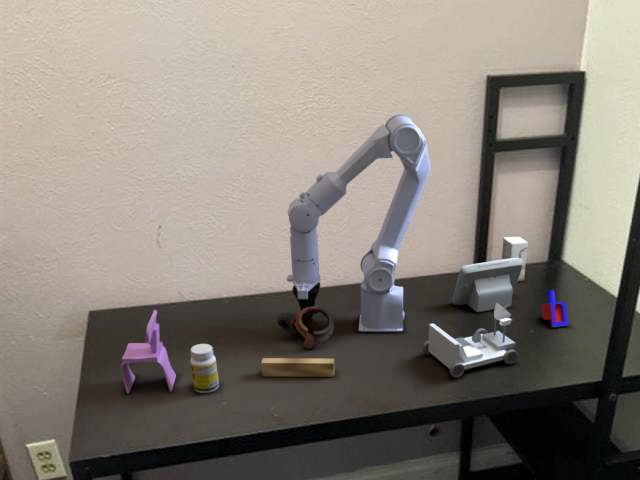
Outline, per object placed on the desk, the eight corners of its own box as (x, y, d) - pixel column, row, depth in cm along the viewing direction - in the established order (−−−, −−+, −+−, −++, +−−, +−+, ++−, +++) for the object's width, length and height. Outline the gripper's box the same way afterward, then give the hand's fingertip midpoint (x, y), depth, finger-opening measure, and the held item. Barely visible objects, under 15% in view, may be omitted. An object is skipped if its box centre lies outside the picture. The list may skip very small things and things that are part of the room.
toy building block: (559, 326, 174) (555, 290, 173) (568, 325, 170) (564, 288, 169) (544, 328, 173) (540, 292, 173) (553, 327, 169) (549, 290, 169)
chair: (131, 374, 153) (118, 304, 145) (177, 372, 153) (166, 302, 146) (123, 396, 146) (109, 323, 138) (170, 394, 146) (159, 321, 139)
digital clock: (513, 293, 186) (517, 251, 181) (526, 309, 178) (530, 265, 173) (447, 298, 184) (449, 255, 178) (457, 314, 176) (459, 270, 171)
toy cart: (499, 294, 161) (532, 315, 152) (495, 337, 166) (528, 360, 157) (423, 310, 154) (453, 334, 145) (421, 354, 159) (451, 379, 150)
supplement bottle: (195, 381, 150) (190, 343, 146) (220, 380, 151) (215, 341, 146) (192, 394, 146) (187, 354, 142) (218, 393, 147) (213, 353, 142)
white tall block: (524, 281, 192) (528, 242, 187) (508, 283, 191) (511, 244, 186) (515, 273, 197) (519, 235, 192) (499, 275, 196) (502, 237, 191)
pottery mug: (330, 328, 171) (338, 306, 164) (325, 364, 166) (333, 342, 159) (277, 317, 169) (282, 293, 162) (270, 352, 164) (275, 329, 157)
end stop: (334, 371, 153) (334, 358, 152) (334, 376, 152) (333, 363, 150) (263, 371, 154) (262, 358, 152) (262, 376, 152) (261, 362, 151)
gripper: (290, 245, 168) (293, 302, 175) (281, 270, 156) (285, 331, 163) (322, 245, 168) (324, 302, 175) (316, 270, 156) (319, 331, 162)
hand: (308, 316), depth 169 cm, fingers closed
